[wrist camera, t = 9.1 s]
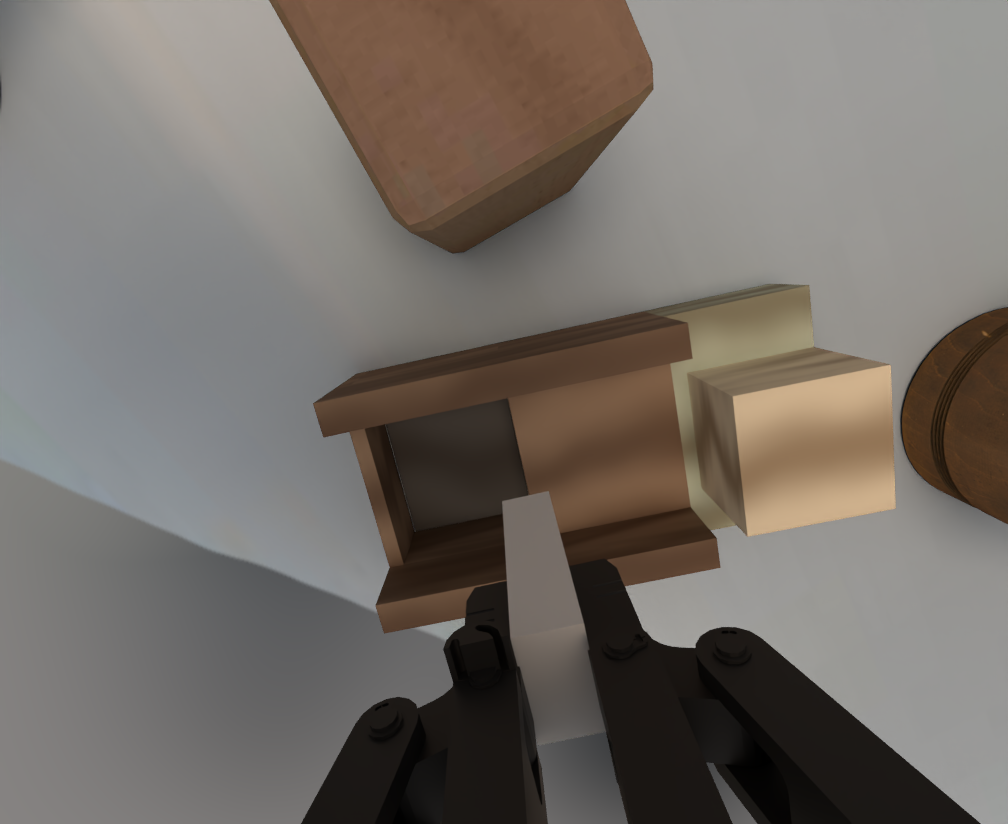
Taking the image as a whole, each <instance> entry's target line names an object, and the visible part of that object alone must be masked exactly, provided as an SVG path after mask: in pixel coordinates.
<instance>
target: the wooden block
mask: <svg viewBox="0 0 1008 824" xmlns="http://www.w3.org/2000/svg"><path fill="white" fill-rule="evenodd" d="M269 1H270V3H271V4H272V6H273V8H274V10H275V11H276V13H277V15H278V17H279V19H280V20H281V22H282V24H283V26H284V27H285V29H286V31H287V33H288V34H289V36H290V38H291V40H292V41H293V43H294V45H295V47H296V48H297V50H298V52H299V54H300V55H301V57H302V59H303V61H304V62H305V64H306V66H307V68H308V70H309V71H310V73H311V75H312V77H313V78H314V80H315V82H316V84H317V85H318V87H319V89H320V91H321V92H322V94H323V96H324V98H325V99H326V101H327V103H328V105H329V106H330V108H331V110H332V112H333V113H334V115H335V117H336V119H337V121H338V122H339V124H340V126H341V128H342V129H343V131H344V133H345V135H346V136H347V138H348V140H349V142H350V143H351V145H352V147H353V149H354V150H355V152H356V154H357V156H358V157H359V159H360V161H361V163H362V165H363V166H364V168H365V170H366V172H367V173H368V175H369V177H370V179H371V180H372V182H373V184H374V186H375V187H376V189H377V191H378V193H379V194H380V196H381V198H382V200H383V201H384V203H385V205H386V207H387V208H388V210H389V212H390V214H391V216H392V217H393V218H394V219H395V220H396V221H397V222H398V223H400V224H401V225H402V226H403V227H405V228H406V229H407V230H408V231H410V232H411V233H413V234H415V235H417V236H419V237H421V238H423V239H425V240H427V241H429V242H431V243H433V244H435V245H437V246H439V247H441V248H443V249H445V250H447V251H449V252H451V253H459V252H465V251H466V250H468V249H470V248H472V247H473V246H475V245H477V244H479V243H480V242H482V241H484V240H486V239H487V238H489V237H491V236H492V235H494V234H496V233H498V232H499V231H501V230H503V229H505V228H506V227H508V226H510V225H511V224H513V223H515V222H517V221H518V220H520V219H522V218H524V217H525V216H527V215H529V214H530V213H532V212H534V211H536V210H537V209H539V208H541V207H543V206H544V205H546V204H548V203H550V202H551V201H553V200H555V199H556V198H558V197H560V196H562V195H563V194H565V193H567V192H569V191H570V190H571V189H572V188H573V186H574V185H575V184H576V183H577V182H578V180H579V179H580V178H581V177H582V176H583V174H584V173H585V172H586V171H587V170H588V168H589V167H590V166H591V165H592V164H593V162H594V161H595V160H596V159H597V158H598V156H599V155H600V154H601V153H602V152H603V150H604V149H605V148H606V147H607V146H608V144H609V143H610V142H611V141H612V140H613V138H614V137H615V136H616V135H617V134H618V132H619V131H620V130H621V129H622V128H623V126H624V125H625V124H626V123H627V121H628V120H629V119H630V118H631V117H632V115H633V114H634V113H635V112H636V111H637V109H638V108H639V107H640V106H641V104H642V103H643V102H644V101H645V99H646V98H647V97H648V95H649V94H650V93H651V92H652V90H653V68H652V61H651V59H650V57H649V54H648V52H647V50H646V47H645V45H644V43H643V41H642V38H641V36H640V34H639V31H638V29H637V27H636V24H635V22H634V20H633V17H632V15H631V13H630V10H629V8H628V6H627V3H626V1H625V0H269Z"/></svg>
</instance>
